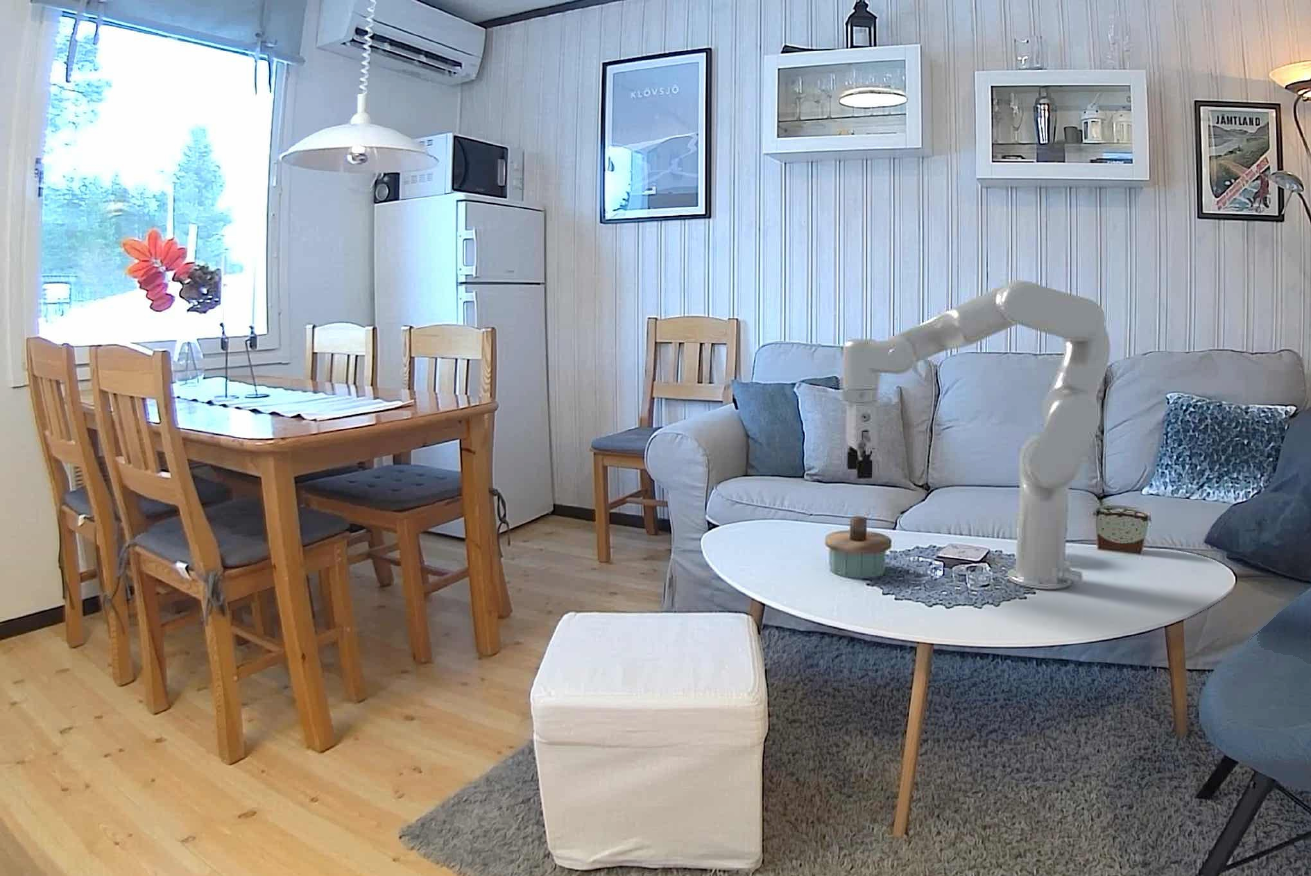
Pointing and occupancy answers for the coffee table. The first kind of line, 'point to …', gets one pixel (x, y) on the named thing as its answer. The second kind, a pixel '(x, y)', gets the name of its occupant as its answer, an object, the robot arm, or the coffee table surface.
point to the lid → (858, 539)
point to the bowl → (857, 564)
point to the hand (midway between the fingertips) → (859, 473)
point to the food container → (1121, 528)
